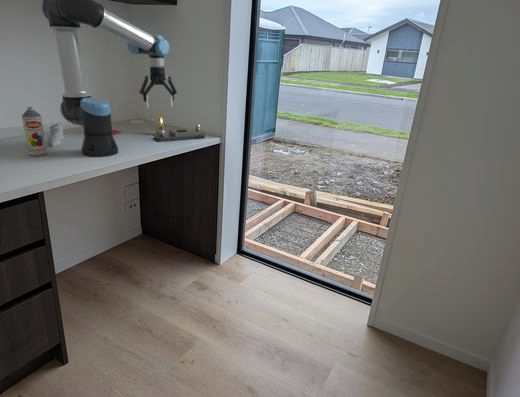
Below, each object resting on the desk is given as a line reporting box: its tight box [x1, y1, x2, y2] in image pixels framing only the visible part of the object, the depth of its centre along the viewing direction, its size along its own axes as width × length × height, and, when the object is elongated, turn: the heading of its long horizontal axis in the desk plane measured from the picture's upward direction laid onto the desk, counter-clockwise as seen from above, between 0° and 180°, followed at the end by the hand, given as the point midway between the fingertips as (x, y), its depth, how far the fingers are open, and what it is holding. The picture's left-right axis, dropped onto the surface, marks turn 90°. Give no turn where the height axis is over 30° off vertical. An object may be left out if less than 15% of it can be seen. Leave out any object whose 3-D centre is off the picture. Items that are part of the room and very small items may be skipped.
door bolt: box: [153, 123, 206, 143], centre depth 199 cm, size 26×9×7 cm, turn 124°
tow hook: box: [112, 129, 121, 136], centre depth 202 cm, size 8×13×9 cm
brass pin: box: [155, 116, 165, 135], centre depth 204 cm, size 4×4×10 cm
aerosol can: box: [21, 106, 48, 158], centre depth 152 cm, size 7×7×20 cm
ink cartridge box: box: [45, 122, 65, 148], centre depth 171 cm, size 2×11×10 cm, turn 1°
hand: (159, 107), depth 200 cm, fingers open, 13 cm apart
